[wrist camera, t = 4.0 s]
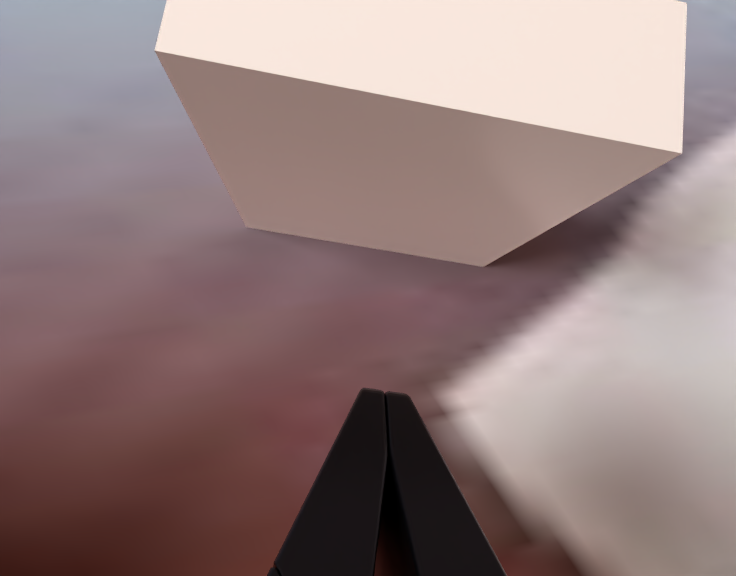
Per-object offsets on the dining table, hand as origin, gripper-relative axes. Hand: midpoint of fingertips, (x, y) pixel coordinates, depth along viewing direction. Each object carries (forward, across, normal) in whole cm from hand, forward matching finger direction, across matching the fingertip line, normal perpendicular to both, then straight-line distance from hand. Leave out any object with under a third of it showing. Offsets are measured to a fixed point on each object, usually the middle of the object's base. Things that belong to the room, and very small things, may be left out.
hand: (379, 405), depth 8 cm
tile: (+11, 0, +2) cm, 11 cm away
